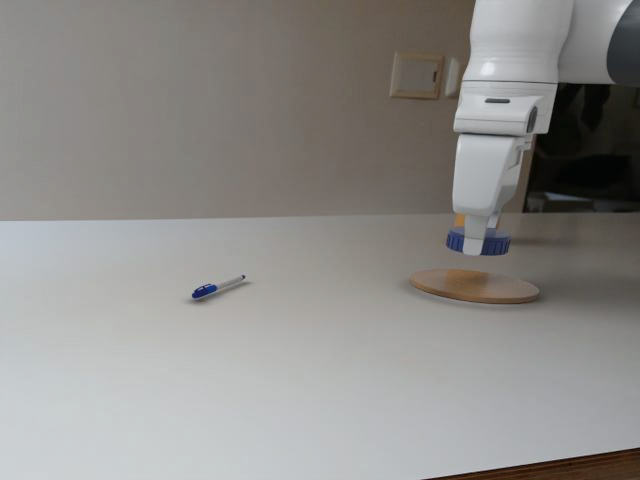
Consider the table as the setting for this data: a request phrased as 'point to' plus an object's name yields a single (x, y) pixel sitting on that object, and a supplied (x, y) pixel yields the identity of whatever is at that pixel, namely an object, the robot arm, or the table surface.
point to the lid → (493, 243)
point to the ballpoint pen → (216, 286)
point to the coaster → (475, 286)
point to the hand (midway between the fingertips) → (477, 248)
